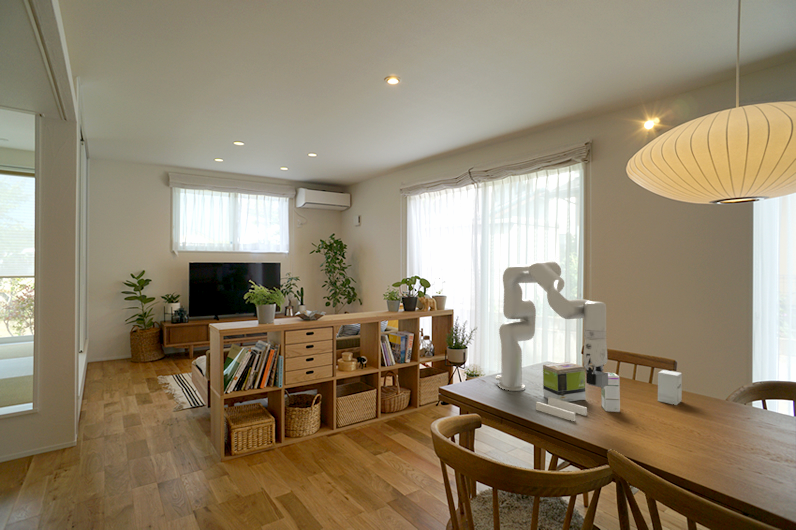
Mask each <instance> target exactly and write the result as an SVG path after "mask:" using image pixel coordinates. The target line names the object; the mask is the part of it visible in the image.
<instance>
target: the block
mask: <svg viewBox="0 0 796 530" xmlns="http://www.w3.org/2000/svg"><path fill="white" fill-rule="evenodd" d="M595 374H596V384H595V385H592V384H588V383H587V384H588V385H589V386H593V387H597V388H600V389H601V388H603V387H605V386H608V373H605V372H604V371H603V372H600V371H595Z"/></svg>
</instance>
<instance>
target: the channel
mask: <svg viewBox="0 0 796 530" xmlns="http://www.w3.org/2000/svg"><path fill="white" fill-rule="evenodd" d="M535 410H537V411H539V412H542V413H546V414H549V415H551V416H554V417H558V418H561V419H565V420H568V421H570V420H571V421H570V422H573V421H574V422H576V414H579V415H582V416H588V408H587V407H586V406H583V405H579V404H576V403H574V402H573V403H572V402H566V401H562V400H559V399H555V398H551V397H548V398H547V404H546V403H543V402H539V401H536V402H535Z"/></svg>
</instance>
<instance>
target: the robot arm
mask: <svg viewBox="0 0 796 530" xmlns="http://www.w3.org/2000/svg"><path fill="white" fill-rule="evenodd" d="M502 274H503V275H502V284H503V307H502V308H503V309H502V310H503V316H504V317H505V318H506V319H508V320H519V321H506V322H504V323H502V324H501V325H500V327H499V329H498V330H499V337H500V339H499V340H500V347H501V353H500V354H501V357H500V358H501V360H500V361H501V371H500V372H501V373H500V374H501V375H500V374H497V375H496V376H495V380H497V381H499V382H498V383H497V386H499V387H500V389H501V388H502V389H501V390H504V389H505V390H504V391H508V390H509V392H520V391H524V390H525V389H526V385H525V384H524V383H523V355H522V354H523V351H522V348H521V346H520V344H519V342H523V341H530V340H532V339H533V338H534V336H535V333H536V314H537V313H536V306H535V304H534V302H533V301H532V300H531V299H528V298H523V289H522V287H521V285H520V284H535V283H537V284H538V285H539V286H540V287H541V288H542V289H543V290H544V291H545V292H546V298H547V303H548V305H549V306H550V307H551V309H552V310H553V311H554V313H556V314H557V315H558V316H559V317H561V318H563V319H565V320H574V319H575V320H576V319H579V320H580V319H583V338H584V344H583V366H584V367H585V383H586V384H592V385H595V384H596V374H595V371H600V372H604V366H605V365H606V364H607V363H608V346H607V345H608V344H607V305H606V303H605V302H603V301H597V300H594V301H592V300H588V299H583V298H577V299H567V298H565V296H564V295H563V294H561V292H562V290H563V289H564V287H565V280H564V279H563V278H562V276H561V275H562V269H561V266H560V265H559V263H557V262H555V261H552V260H548V261H547V260H546V261H543V260H539V261H534V262H532V263H531V264H514V265H510V266H508V267H507V268H505V270H504V272H503V273H502ZM592 385H591V386H592ZM499 387H498V388H499Z"/></svg>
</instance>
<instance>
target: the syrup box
mask: <svg viewBox="0 0 796 530" xmlns="http://www.w3.org/2000/svg"><path fill="white" fill-rule="evenodd" d="M605 373H608V386H605V387H603V388H601V387H600V390H601V391H600V392H601V396H600V399H601V401H600V402H601V408H603V410H604V411H605V412H610V413H611V412H613V413H614V412H615V413H620V411H621V393H620V392H621V389H620V388H621V387H620V386H621V385H620V376H619V375H618V374H616V372H605Z"/></svg>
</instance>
